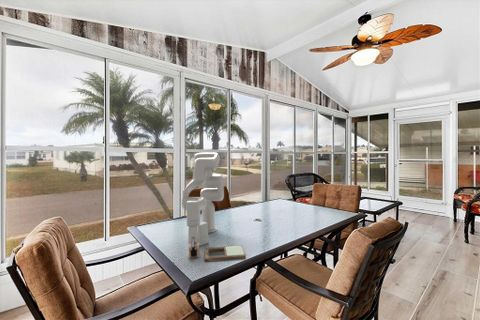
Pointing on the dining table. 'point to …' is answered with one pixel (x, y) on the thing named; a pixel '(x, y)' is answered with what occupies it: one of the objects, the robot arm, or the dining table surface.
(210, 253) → the hole board
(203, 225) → the small box
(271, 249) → the dining table surface
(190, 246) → the terracotta cube
